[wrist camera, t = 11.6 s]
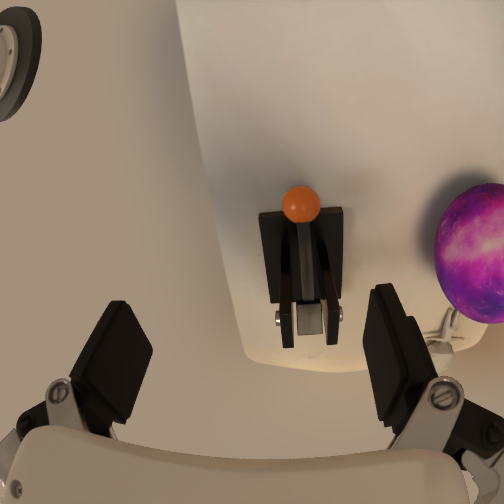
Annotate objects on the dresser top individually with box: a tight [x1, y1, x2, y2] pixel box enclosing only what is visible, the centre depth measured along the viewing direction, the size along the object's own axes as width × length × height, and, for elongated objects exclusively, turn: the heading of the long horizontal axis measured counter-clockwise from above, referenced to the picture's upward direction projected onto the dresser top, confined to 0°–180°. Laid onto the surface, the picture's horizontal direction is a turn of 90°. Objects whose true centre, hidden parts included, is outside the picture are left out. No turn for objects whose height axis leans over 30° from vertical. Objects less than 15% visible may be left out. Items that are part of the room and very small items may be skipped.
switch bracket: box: [258, 207, 343, 348], centre depth 29 cm, size 12×9×12 cm
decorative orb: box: [434, 183, 504, 324], centre depth 22 cm, size 15×15×15 cm
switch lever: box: [282, 186, 323, 335], centre depth 25 cm, size 13×3×3 cm
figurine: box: [425, 308, 464, 373], centre depth 37 cm, size 8×5×12 cm
